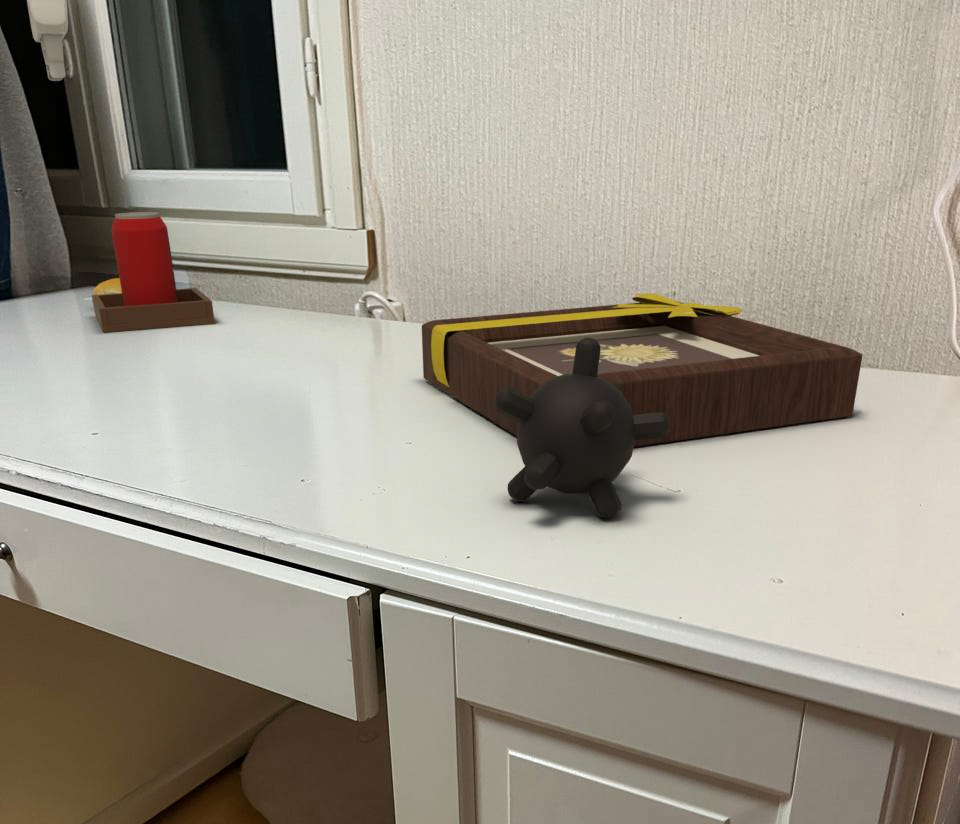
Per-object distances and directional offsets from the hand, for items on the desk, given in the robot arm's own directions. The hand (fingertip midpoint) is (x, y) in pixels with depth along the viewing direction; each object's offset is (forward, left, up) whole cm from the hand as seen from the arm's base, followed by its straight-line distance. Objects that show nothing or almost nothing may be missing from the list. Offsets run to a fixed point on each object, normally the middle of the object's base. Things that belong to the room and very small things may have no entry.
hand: (57, 79), depth 129 cm
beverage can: (+6, -18, -27) cm, 33 cm away
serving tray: (+6, -18, -28) cm, 34 cm away
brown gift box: (+40, -81, -28) cm, 94 cm away
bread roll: (+4, -5, -28) cm, 29 cm away
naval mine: (+23, -104, -28) cm, 110 cm away
